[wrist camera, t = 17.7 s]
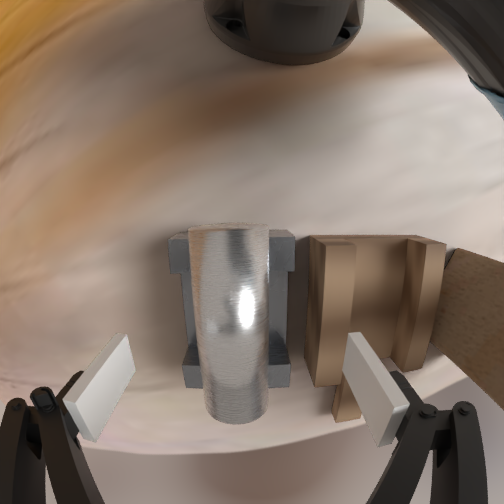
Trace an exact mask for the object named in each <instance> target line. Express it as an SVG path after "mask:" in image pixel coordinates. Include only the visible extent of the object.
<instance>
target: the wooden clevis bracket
mask: <svg viewBox="0 0 504 504" xmlns="http://www.w3.org/2000/svg"><path fill="white" fill-rule="evenodd" d="M445 254H446V244H444V243H441V242H438V241H434V240H431V239H427V238H424V237H421V236H417V235H310V256H309V285H308V306H307V323H306V338H305V351H304V358H305V361H306V364H307V367H308V370H309V373H310V376H311V379H312V381H313V384H314V387H323V386H332V385H337V387H336V392H335V397H334V402H333V407H332V414H333V417H334V420H335V422H336V423H337V422H343V421H349V420H354V419H360V417H361V414H362V412H361V410H360V407H359V405H358V403H357V401H356V399H355V397H354V394H353V392H352V390H351V388H350V386H349V384H348V382H347V379H346V377H345V375H344V373H343V371H342V368H343V363H344V357H345V351H346V345H347V338H348V333H353V332H361V334H362V335H363V336H364V338H365V339H366V341H367V342H368V343H369V345H370V346H371V348H372V349H373V351H374V352H375V353H376V355H377V356H378V358H379V359H383V358H388V357H390V358H391V359H392V360H393V361H394V363H395V364H396V365H397V366H398V367H399V369H400V370H401V371H402V372H403V373H404V372H409V371H413V370H417V369H421V368H422V366H423V363H424V359H425V356H426V352H427V349H428V345H429V341H430V337H431V334H432V329H433V325H434V321H435V316H436V311H437V307H438V301H439V296H440V290H441V284H442V278H443V270H444V263H445Z"/></svg>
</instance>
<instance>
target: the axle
mask: <svg viewBox="0 0 504 504" xmlns="http://www.w3.org/2000/svg"><path fill="white" fill-rule="evenodd" d="M188 238H189V255H190V270H191V284H192V296H193V307H194V317H195V327H196V336H197V345H198V354H199V362H200V369H201V377H202V384H203V391H204V398H205V404H206V409H207V411H208V413H209V414H210V415H211V416H212V417H213V418H214V419H216V420H218V421H220V422H223V423H227V424H245V423H249V422H252V421H254V420H256V419H258V418H259V417H261V416H262V415H263V414H264V413H265V411H266V409H267V406H268V364H269V226H268V225H264V224H254V223H221V224H208V225H200V226H194V227H190V228H188Z"/></svg>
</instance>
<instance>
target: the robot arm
mask: <svg viewBox="0 0 504 504" xmlns="http://www.w3.org/2000/svg"><path fill="white" fill-rule="evenodd" d="M388 1H389V2H391V3H392V4H393V5H395V6H396V7H397V8H399V9H400V10H401V11H403V12H404V13H405V14H406V15H408V16H409V17H410V18H411V19H413V20H414V21H415V22H416V23H417V24H419V25H420V26H421V27H422V28H423V29H424V30H425V31H427V32H428V33H429V34H430V35H431V36H432V37H433V38H434V39H435V40H436V41H437V42H438V43H439V44H441V45H442V46H443V47H444V48H445V49H446V50H447V51H448V52H449V53H450V55H451V56H452V57H453V58H454V59H455V60H456V61H457V62H458V63H459V64H460V65H461V66H462V68H463V69H464V70H465V71H466V72H467V73H468V77H469V79H470V82H471V83H472V84H473V85H474V87H475V88H476V89H477V90H479V91H480V92H481V93H483V94H484V95H485V96H486V97H487V99H488V100H489V101H490V102H491V104H492V105H493V106H494V108H495V109H496V110H497V111H498V113H499V114H500V116H501V117H502V118H503V120H504V0H388ZM203 2H204V8H205V13H206V17H207V21H208V23H209V25H210V27H211V29H212V30H213V32H214V33H215V34H216V35H217V36H218V37H219V38H220V39H221V40H222V41H223V42H224V43H226V44H227V45H228V46H230V47H232V48H233V49H235V50H237V51H239V52H241V53H243V54H245V55H248V56H250V57H253V58H256V59H259V60H263V61H267V62H273V63H279V64H293V65H296V64H310V63H316V62H321V61H324V60H327V59H330V58H332V57H334V56H336V55H338V54H340V53H341V52H343V51H344V50H345V49H346V48H347V47H348V46H349V45H350V44H351V42H352V41H353V40H354V38H355V37H356V36H357V34H358V33H359V31H360V28H361V26H362V23H363V16H364V3H365V0H204V1H203ZM135 371H136V369H135V365H134V361H133V357H132V353H131V349H130V345H129V341H128V336H127V334H121V333H116V334H115V335H114V336H113V337H112V339H111V340H110V341H109V342H108V343H107V345H106V346H105V347H104V348H103V349H102V350H101V352H100V353H99V354H98V355H97V357H96V358H95V359H94V360H93V361H92V363H91V364H90V365H89V366H88V368H87V369H86V370H85V371H79V372H78V373H76V374H74V375H73V376H72V378H71V379H70V380H69V381H68V382H67V384H66V386H64V387H63V389H62V390H61V391H60V392H59V393H58V395H57V396H56V397H55V396H54V394H53V392H52V390H51V389H50V388H49V387H39V388H36V389H35V390H33V391H32V393H31V394H30V398H31V400H32V402H33V404H34V406H35V407H34V406H27V404H26V402H25V400H24V399H22V398H14V399H12V400H10V401H9V402H8V404H7V405H6V409H5V412H4V415H3V419H2V422H1V426H0V504H46V496H45V467H46V466H47V470H48V474H49V478H50V481H51V485H52V488H53V492H54V495H55V498H56V501H57V504H105V503H104V501H103V499H102V497H101V495H100V492H99V490H98V488H97V486H96V484H95V481H94V479H93V477H92V474H91V472H90V469H89V467H88V465H87V462H86V460H85V457H84V454H83V452H82V448H81V445H80V442H79V440H78V438H77V434H78V432H80V433H81V435H82V437H83V439H86V440H89V441H93V442H97V440H98V438H99V436H100V434H101V432H102V430H103V428H104V427H105V425H106V423H107V421H108V419H109V417H110V416H111V414H112V412H113V410H114V408H115V406H116V405H117V403H118V401H119V399H120V397H121V396H122V394H123V392H124V390H125V389H126V387H127V385H128V383H129V382H130V380H131V378H132V376H133V375H134V373H135ZM342 371H343V373H344V375H345V377H346V379H347V382H348V384H349V386H350V388H351V390H352V392H353V394H354V397H355V399H356V401H357V403H358V405H359V407H360V410H361V412H362V414H363V416H364V418H365V421H366V423H367V425H368V427H369V430H370V432H371V434H372V436H373V438H374V441H375V443H376V445H377V447H380V446H384V445H388V444H392V442H393V440H394V438H395V436H396V438H397V440H398V443H397V446H396V447H395V449H394V451H393V453H392V456H391V458H390V460H389V463H388V465H387V467H386V468H385V471H384V472H383V474H382V476H381V478H380V480H379V482H378V484H377V485H376V487H375V489H374V491H373V492H372V494H371V496H370V498H369V499H368V501H367V503H366V504H409V503H410V501H411V499H412V496H413V494H414V492H415V489H416V487H417V484H418V482H419V479H420V477H421V474H422V471H423V468H424V466H425V463H426V460H427V457H428V454H429V451H430V450H433V469H432V486H431V498H430V504H488V493H487V492H488V491H487V476H486V466H485V457H484V450H483V443H482V438H481V432H480V426H479V422H478V417H477V412H476V409H475V407H474V406H473V405H472V404H471V403H469V402H466V401H461V402H457V403H456V404H455V405H454V406H453V409H452V410H443V411H438V409H437V408H436V407H435V406H433V405H430V404H424V403H423V401H422V400H421V399H420V397H419V396H418V395H417V393H416V392H415V390H414V389H413V388H412V387H411V385H410V384H409V383H408V381H407V379H406V378H405V377H404V375H402V374H401V373H399V372H398V371H392V372H388V371H387V369H386V368H385V366H384V365H383V363H382V362H381V360H380V359H379V358H378V356H377V355H376V353H375V352H374V351H373V349H372V348H371V346H370V345H369V343H368V342H367V341H366V339H365V338H364V336H363V335H362V334H361V332H353V333H348V338H347V345H346V351H345V357H344V363H343V368H342Z"/></svg>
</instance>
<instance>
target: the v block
mask: <svg viewBox="0 0 504 504" xmlns="http://www.w3.org/2000/svg"><path fill="white" fill-rule="evenodd" d="M168 251H169V264H170V274H173V273H181V282H182V293H183V303H184V313H185V322H186V330H187V338H188V346H189V347H188V350H187V352H186V355H185V358H184V361H183V364H182V368H183V374H184V380H185V385H186V388H203V384H202V377H201V369H200V362H199V354H198V345H197V336H196V327H195V317H194V307H193V296H192V284H191V270H190V255H189V238H188V232H180V233H178V234H176V235H175V236H173V237H171V238H170V239H168ZM288 271H295V236H294V235H292V234H291V233H290V232H289V231H288V230H269V364H268V388H280V387H289V383H290V368H291V363H290V360H289V356H288V352H287V348H286V327H287V293H288Z"/></svg>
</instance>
